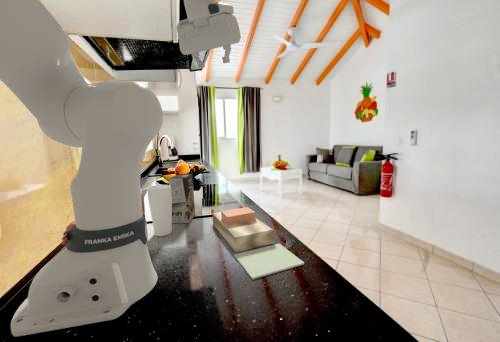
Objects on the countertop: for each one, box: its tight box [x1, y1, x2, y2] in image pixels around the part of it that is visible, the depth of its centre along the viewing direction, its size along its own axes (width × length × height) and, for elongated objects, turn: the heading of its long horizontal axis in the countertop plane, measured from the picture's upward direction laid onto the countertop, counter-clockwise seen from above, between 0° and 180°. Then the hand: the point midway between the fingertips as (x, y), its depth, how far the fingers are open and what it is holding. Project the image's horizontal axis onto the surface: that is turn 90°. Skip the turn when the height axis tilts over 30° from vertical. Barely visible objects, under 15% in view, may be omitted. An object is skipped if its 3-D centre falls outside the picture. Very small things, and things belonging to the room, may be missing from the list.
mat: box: [233, 243, 305, 280], centre depth 56 cm, size 13×11×1 cm
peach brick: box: [220, 206, 257, 225], centre depth 73 cm, size 9×6×2 cm, turn 114°
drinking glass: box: [147, 184, 173, 237], centre depth 73 cm, size 7×7×15 cm
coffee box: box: [168, 173, 196, 224], centre depth 86 cm, size 9×6×16 cm
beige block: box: [212, 211, 274, 253], centre depth 72 cm, size 11×22×4 cm, turn 24°
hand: (213, 65), depth 73 cm, fingers open, 8 cm apart
